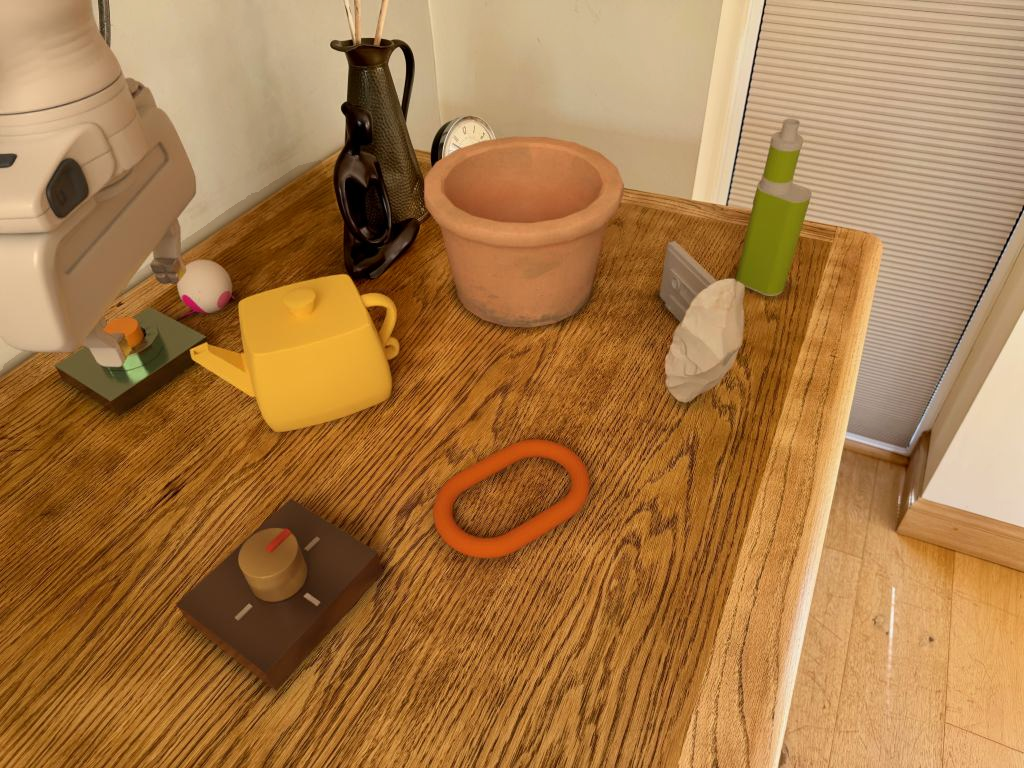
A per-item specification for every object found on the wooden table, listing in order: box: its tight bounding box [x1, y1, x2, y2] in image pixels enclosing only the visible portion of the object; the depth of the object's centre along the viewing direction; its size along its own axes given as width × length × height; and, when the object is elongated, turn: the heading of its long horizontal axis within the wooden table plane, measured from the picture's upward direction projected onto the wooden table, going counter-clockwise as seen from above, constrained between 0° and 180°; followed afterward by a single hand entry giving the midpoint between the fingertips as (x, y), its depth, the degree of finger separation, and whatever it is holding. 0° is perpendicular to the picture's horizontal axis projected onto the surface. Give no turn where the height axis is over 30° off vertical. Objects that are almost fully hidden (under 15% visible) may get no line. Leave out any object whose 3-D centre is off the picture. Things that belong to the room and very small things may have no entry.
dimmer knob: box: [238, 528, 308, 602], centre depth 56 cm, size 4×4×4 cm
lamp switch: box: [53, 306, 211, 417], centre depth 79 cm, size 12×10×4 cm
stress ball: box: [176, 259, 236, 318], centre depth 86 cm, size 8×8×7 cm
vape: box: [735, 117, 813, 297], centre depth 82 cm, size 4×6×20 cm, turn 47°
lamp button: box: [103, 316, 144, 348], centre depth 77 cm, size 4×4×2 cm
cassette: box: [659, 240, 717, 323], centre depth 81 cm, size 12×2×8 cm, turn 22°
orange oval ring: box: [432, 438, 591, 559], centre depth 65 cm, size 10×2×15 cm
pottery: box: [423, 136, 625, 329], centre depth 84 cm, size 22×22×14 cm
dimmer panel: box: [175, 498, 384, 692], centre depth 58 cm, size 12×10×3 cm
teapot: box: [190, 273, 401, 433], centre depth 73 cm, size 20×12×12 cm, turn 113°
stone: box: [664, 278, 746, 404], centre depth 69 cm, size 8×5×15 cm
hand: (146, 316), depth 52 cm, fingers open, 8 cm apart
